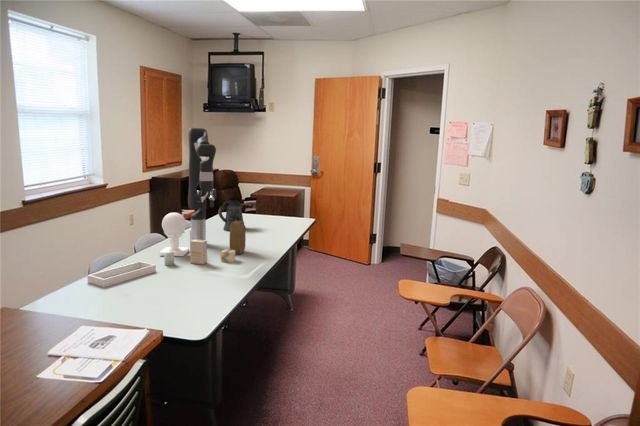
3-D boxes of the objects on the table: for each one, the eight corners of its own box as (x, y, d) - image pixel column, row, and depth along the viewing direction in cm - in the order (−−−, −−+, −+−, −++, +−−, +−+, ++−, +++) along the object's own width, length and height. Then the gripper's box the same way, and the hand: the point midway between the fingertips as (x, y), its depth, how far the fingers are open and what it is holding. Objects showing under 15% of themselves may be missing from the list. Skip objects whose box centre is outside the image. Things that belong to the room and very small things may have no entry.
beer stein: (249, 231, 317) (250, 199, 313) (231, 236, 301) (231, 202, 297) (234, 228, 326) (234, 197, 322) (215, 232, 310) (215, 199, 306)
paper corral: (87, 282, 195) (87, 275, 194) (140, 267, 220) (140, 261, 219) (103, 287, 189) (103, 279, 188) (155, 271, 214) (155, 264, 214)
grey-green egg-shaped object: (162, 264, 226) (162, 252, 225) (169, 262, 230) (169, 250, 229) (169, 266, 224) (168, 253, 223) (176, 264, 228) (176, 251, 227)
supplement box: (207, 263, 232) (207, 240, 230) (202, 265, 228) (202, 242, 226) (195, 261, 235) (194, 238, 233) (190, 263, 231) (189, 240, 228)
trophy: (166, 250, 256) (165, 210, 252) (189, 250, 257) (188, 211, 253) (159, 256, 242) (158, 214, 238) (183, 256, 243) (182, 214, 239)
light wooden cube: (221, 261, 236) (221, 251, 235) (225, 259, 242) (225, 249, 241) (230, 262, 235) (230, 252, 234) (235, 260, 240) (235, 250, 239)
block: (239, 255, 250) (239, 223, 247) (228, 254, 252) (228, 222, 249) (247, 251, 260) (247, 220, 257) (236, 250, 262) (236, 219, 259)
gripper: (210, 178, 243) (210, 205, 245) (192, 179, 230) (192, 208, 233) (219, 179, 239) (219, 207, 242) (202, 181, 227) (202, 210, 229)
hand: (206, 207), depth 237 cm, fingers open, 8 cm apart
